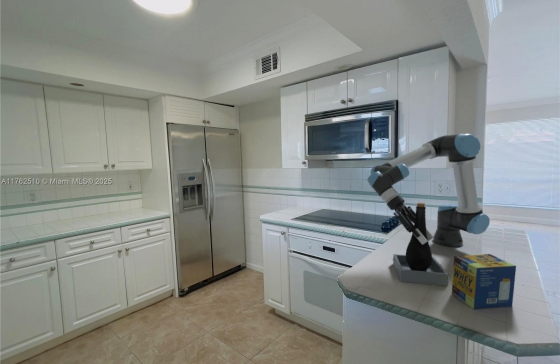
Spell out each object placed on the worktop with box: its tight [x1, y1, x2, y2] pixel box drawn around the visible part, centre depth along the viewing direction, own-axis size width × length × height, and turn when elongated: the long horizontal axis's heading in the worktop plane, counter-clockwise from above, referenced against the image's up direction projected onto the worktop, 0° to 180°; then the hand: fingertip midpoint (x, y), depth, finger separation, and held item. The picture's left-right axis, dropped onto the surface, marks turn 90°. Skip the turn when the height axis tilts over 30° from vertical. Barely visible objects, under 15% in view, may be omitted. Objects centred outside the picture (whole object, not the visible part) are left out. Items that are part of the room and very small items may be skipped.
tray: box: [392, 253, 449, 287], centre depth 117 cm, size 18×18×5 cm
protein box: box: [451, 253, 517, 310], centre depth 95 cm, size 10×15×16 cm
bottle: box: [405, 202, 433, 272], centre depth 115 cm, size 11×11×30 cm
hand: (428, 240), depth 113 cm, fingers closed on bottle, 6 cm apart
